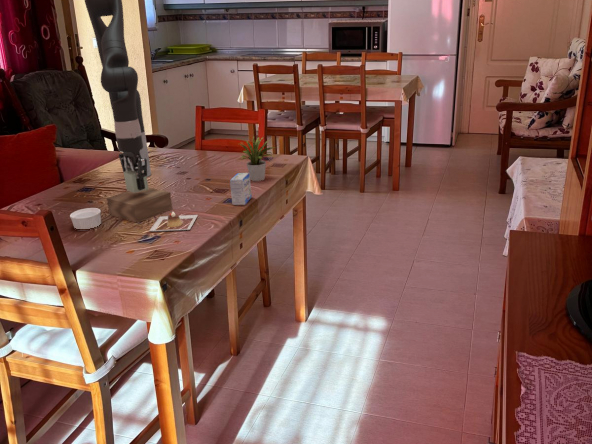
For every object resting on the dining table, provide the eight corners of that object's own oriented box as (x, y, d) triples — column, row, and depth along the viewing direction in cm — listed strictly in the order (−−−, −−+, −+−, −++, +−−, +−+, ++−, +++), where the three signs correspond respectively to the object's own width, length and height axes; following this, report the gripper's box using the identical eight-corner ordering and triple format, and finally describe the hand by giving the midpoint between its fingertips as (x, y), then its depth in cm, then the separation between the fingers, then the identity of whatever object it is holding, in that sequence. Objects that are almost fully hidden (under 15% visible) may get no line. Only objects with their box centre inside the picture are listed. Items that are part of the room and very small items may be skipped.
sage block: (126, 190, 182) (123, 171, 180) (140, 186, 185) (137, 168, 183) (134, 193, 178) (131, 174, 176) (148, 189, 181) (145, 170, 179)
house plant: (251, 188, 201) (247, 142, 195) (229, 181, 211) (224, 137, 205) (282, 179, 209) (279, 135, 203) (259, 172, 219) (256, 130, 213)
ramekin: (85, 233, 169) (82, 219, 168) (66, 228, 174) (63, 215, 172) (109, 223, 176) (106, 210, 175) (90, 219, 181) (87, 206, 179)
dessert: (160, 219, 178) (157, 205, 176) (198, 218, 177) (196, 203, 175) (149, 234, 167) (147, 219, 165) (190, 232, 166) (188, 217, 164)
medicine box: (245, 205, 184) (242, 179, 181) (232, 205, 185) (229, 179, 182) (251, 197, 191) (249, 172, 188) (239, 197, 192) (236, 172, 189)
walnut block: (109, 216, 183) (106, 198, 181) (144, 203, 193) (142, 186, 191) (137, 223, 175) (134, 205, 173) (172, 209, 185) (170, 192, 183)
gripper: (106, 134, 178) (115, 186, 184) (128, 139, 168) (137, 195, 174) (128, 129, 183) (137, 181, 189) (151, 135, 173) (159, 189, 179)
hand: (137, 187), depth 181 cm, fingers closed on sage block, 5 cm apart
